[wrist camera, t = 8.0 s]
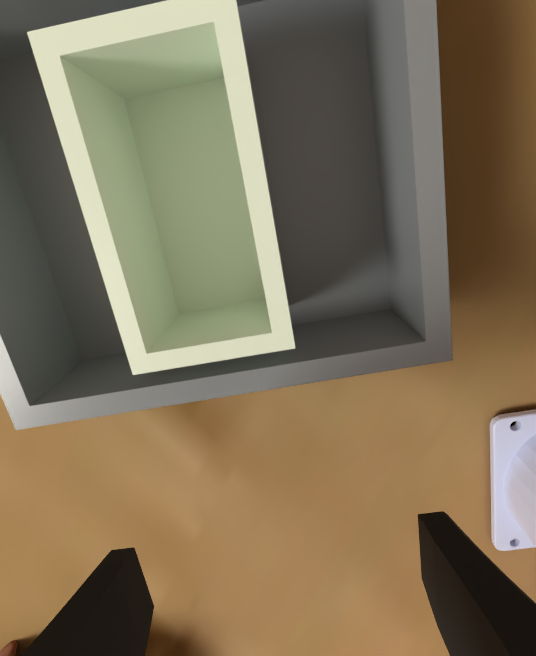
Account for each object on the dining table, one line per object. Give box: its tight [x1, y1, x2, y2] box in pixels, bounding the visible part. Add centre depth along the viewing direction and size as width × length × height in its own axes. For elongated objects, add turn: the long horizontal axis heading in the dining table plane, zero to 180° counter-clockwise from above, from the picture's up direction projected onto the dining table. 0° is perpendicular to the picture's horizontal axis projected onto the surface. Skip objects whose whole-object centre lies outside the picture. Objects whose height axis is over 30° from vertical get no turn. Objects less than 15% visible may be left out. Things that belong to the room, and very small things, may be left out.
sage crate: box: [27, 0, 295, 375], centre depth 13 cm, size 5×9×5 cm, turn 10°
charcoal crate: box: [0, 0, 453, 430], centre depth 14 cm, size 15×13×5 cm
